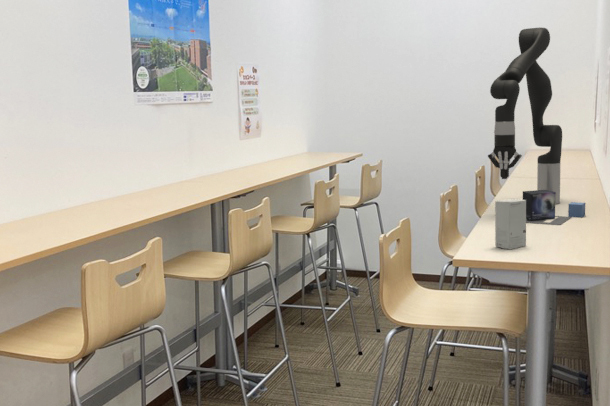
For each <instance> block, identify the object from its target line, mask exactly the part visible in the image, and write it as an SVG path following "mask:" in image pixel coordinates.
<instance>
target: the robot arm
mask: <svg viewBox="0 0 610 406" xmlns="http://www.w3.org/2000/svg"><path fill="white" fill-rule="evenodd" d="M550 42H551V34H550V31H549V29H548V28H546V27H531V28H524V29H522V30H520V31H519V34H518V46H519V50H520V54H519V55H517V56H515V58H514V59H513V60H511V62H510V63H509V65H508V66H507V68H506V69H505V71H504V72H502V73H501V74H499V76H498V77H497V78H496V79H494V81H493V82H492V84H491V86H490V90H489V93H490V95H491V97H492V98H493V99H495V100H506V102H505V103H504V104H502V105H499V106H496V107H495V110H494V112H495V113H494V115H495V116H494V119H495V120H494V121H495V122H494V130H493V131H494V132H493V133H494V147H493V150H492V152H491V153H490V154H488V155H487V158H488V159H489V160H490V161H491V163H492V164H493V166H494V167H495V168H498V169H499V171H500V174H499V175H500V178H501V180H507V179H508V178H509V176H510V175H509V174H510V169H511V168H514V167H515V165H516V164H518V161H520V159H521V158H522V156H523V155H522V154H521V153H520V154H519V153H518V152H517V149H516V126H515V125H516V124H515V111H516V110H515V109H516V105H517V101H518V97H519V94H520V83H521V82H522V81H523V79H524V78H526V86H527V93H528V94H527V95H528V100H529V104H530V111H531V120H532V135H533V136H532V137H533V140H534V144H535V146H537V147H540V148H542V147H543V148H549V151H548V152H546V153H544V154H541V155H538V156H537V182H536V183H537V184H536V185H537V187H536V188H537V189H536V190H550V191H554V192H556V196H555V205H557V204H561V158H562V146H563V130H562V127H561V125H559V124H544V113H545V112H546V109H547V108H548V106H549V104H550V102H551V100H552V97H553V89H552V82H551V81H552V80H551V79H550V76H549V75H548V74H547V73H546V71H545V70H544V69H543V68H542V67H541V66H540V65H539V62H538V61H537V60H538V59H539V58H540V57H541V56H542V54H543V53H545V51H546V50H547V49H548V47H549V45H550ZM512 158H514V159H513V160H512ZM511 160H512V161H511Z"/></svg>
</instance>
